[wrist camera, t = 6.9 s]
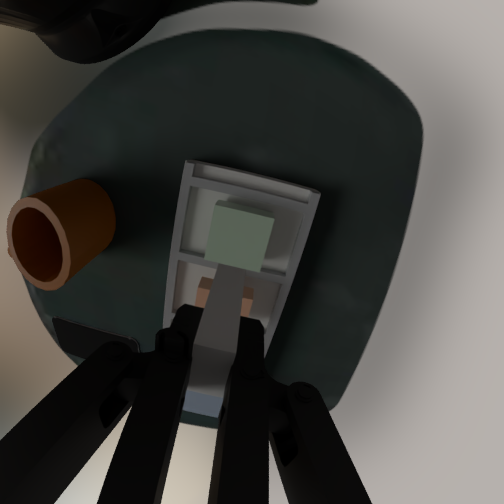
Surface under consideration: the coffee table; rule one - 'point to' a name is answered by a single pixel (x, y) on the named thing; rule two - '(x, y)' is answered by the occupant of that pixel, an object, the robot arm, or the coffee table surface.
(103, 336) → the smartphone
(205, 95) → the coffee table surface
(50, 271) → the mug
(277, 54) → the coffee table surface
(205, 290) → the key terracotta
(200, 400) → the key blue
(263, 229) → the key sage
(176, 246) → the keypad
